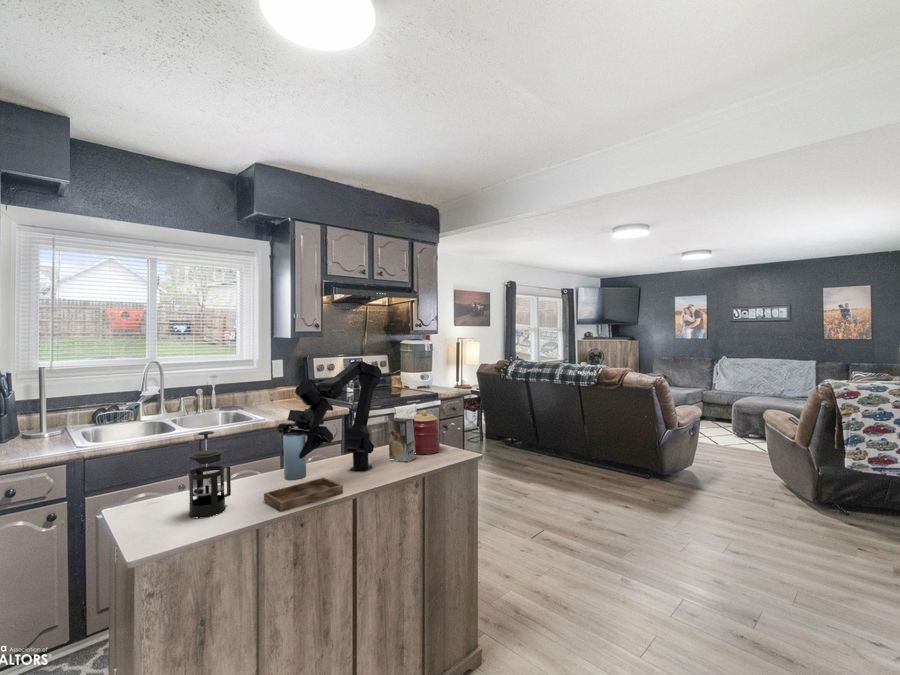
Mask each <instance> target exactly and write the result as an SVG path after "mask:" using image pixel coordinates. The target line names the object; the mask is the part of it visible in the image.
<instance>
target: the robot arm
mask: <svg viewBox="0 0 900 675" xmlns="http://www.w3.org/2000/svg"><path fill="white" fill-rule="evenodd" d="M356 377H358V383H359V386H360V389H359V395H358V401H357V406H356V410H355V415H354V421H353V425H352V426H351V427H347V428H346V434H345V436H344V439H345V440H344V444H345V447H346V450H347V453H351V454H352V467H350V468H349V471H356V472H359V471H360V472H361V471H362V472H363V471H364V472H366V471H367V470H369V469H370V468H371V467H373V466H372V464H369V454H372V453H374V449H375V444H374V443H372V441H371V440H370V431H369V428H368V421H369V418H370V417H369V416H370V410H371V407H372V406H371V405H372V400H373V395H374V390H375V388H376V387H377V386H378V385H379V383H380V380H381V377H382V370H381V368H380V367H379V366H377V365H373V364H370V363H367V362H365V361H363V360H353V361H350V364H349V365H348V366H346V367H345V368H344V369H342V370H341V371H340V372H339V373H337V374H336V375H334V377H331V378H327V379H323V381H320V382H319V383H318V384H316V383H315V381H314V379H312V378H307V379H306V380H305V381H303V382H302V383H300V384H299V385H298V386H296V388H295V389H294V394H295V395H296V396H297V397H298V399H299V400H301V402H302V403H303V404H304V405H305V406H308V408H305V409H304V410H297V409H290V410H289V413H288V415H287V421H289V422H293V424H294V426H295V427H294V426H293V425H292V424H291V423H284V422H282V423H279V425H278V426H277V427H276V431H277V432H278V433H279V434H280V435H281V436H282V437H283V435H285V434H289V433H305V437H306V440H305V441H306V443H305V445H304V447H303V449H302V451H301V453H300V455H299V457H300V458H301V459H302V458H303V457H305V456H306V457H307V455H308V454H310V453H311V452H313V451H314V450H316V449H317V448H319V447H320V446H323V445H324V444H331V443H332V441H333V439H334V435H333V433H332V432H331V430H330V429H329V428H328V427H327V425H326V426H325V425H324V423H325V421H324V418H325V417H326V414H327V413H328V411H331V412H333V411H334V406H333V404H332V402H331V401H329V400H337V399H338V398H339V397H341V395H342V394H343V392H344V387H346V385H348V384H349V383H351V381H352V380H354V379H355V378H356ZM323 425H324V426H323ZM281 456H283V457H284V447H283V446H282V452H281Z"/></svg>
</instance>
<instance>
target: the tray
mask: <svg viewBox="0 0 900 675" xmlns="http://www.w3.org/2000/svg"><path fill="white" fill-rule="evenodd" d="M343 493H344V486H343V484H340V483H338V482H335V481H333V480H330V479H328V478H326V477H321V478H316V479H313V480H309V481H305V482H302V483H298V484H294V485H290V486H287V487H283V488H278V489H275V490H271V491H267V492H264V493H263V501H265V502H264V503H266V504H267V503H268V505H269V506H271V507H273V508H275V509H276V510H277V511H279V512H282V513H283V512H286V511H289V510H292V509H296V508H298V507H301V506H305V505H309V504H312V503H315V502H319V501H322V500H325V499H329V498H332V497H335V496H338V495H341V494H343Z"/></svg>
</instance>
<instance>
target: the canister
mask: <svg viewBox="0 0 900 675" xmlns="http://www.w3.org/2000/svg"><path fill="white" fill-rule="evenodd" d="M410 419H414V425H415V453H416V454H415V455H417V454H429V455H432V454H431V453H434V454H437V453H439V452H440V450H441V449H440V448H441V444H440V430H439V425H440V422H439V421H437V419H438V417H437V416H436V415H434V414H431V413H428V412H427V410H425V409H423V410H421V412H420V414H415V415H414V416H412V417H411V418H410ZM438 451H439V452H438ZM436 452H437V453H436Z"/></svg>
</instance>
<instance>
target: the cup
mask: <svg viewBox="0 0 900 675" xmlns="http://www.w3.org/2000/svg"><path fill="white" fill-rule="evenodd" d="M282 437H283V446H282V448H283V447H284V456H283V472H284V473H283V478H284V480H285V481H291V482H292V481H298V480H302V479H305V478H306V477H307V455H306V456H305V457H303V458H302V459H301V458H300V457H299V455H300V453H301V451H302V449H303V447H304V445H305V443H306V441H307V440H306V436H305V433H289V434H285V435H283V436H282Z"/></svg>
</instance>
